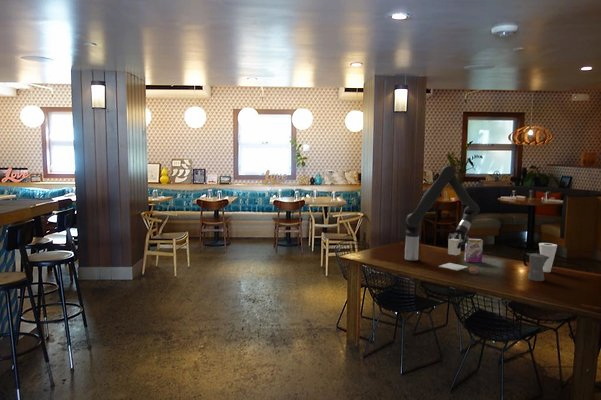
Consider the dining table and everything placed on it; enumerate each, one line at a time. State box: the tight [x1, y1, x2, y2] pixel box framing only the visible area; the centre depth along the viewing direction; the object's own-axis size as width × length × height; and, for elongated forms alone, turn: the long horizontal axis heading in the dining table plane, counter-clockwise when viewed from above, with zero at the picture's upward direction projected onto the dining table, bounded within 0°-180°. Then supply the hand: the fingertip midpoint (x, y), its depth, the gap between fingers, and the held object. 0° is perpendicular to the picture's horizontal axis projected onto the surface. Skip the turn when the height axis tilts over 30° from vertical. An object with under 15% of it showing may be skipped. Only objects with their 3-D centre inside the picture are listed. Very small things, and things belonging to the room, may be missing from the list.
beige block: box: [447, 238, 462, 256], centre depth 304 cm, size 6×6×10 cm
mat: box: [438, 262, 468, 272], centre depth 306 cm, size 14×14×1 cm
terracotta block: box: [468, 265, 479, 275], centre depth 290 cm, size 4×4×4 cm
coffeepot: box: [521, 250, 549, 282], centre depth 277 cm, size 15×9×18 cm, turn 54°
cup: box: [538, 242, 558, 273], centre depth 295 cm, size 11×11×18 cm
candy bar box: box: [464, 238, 484, 263], centre depth 320 cm, size 11×5×16 cm, turn 84°
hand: (453, 247), depth 304 cm, fingers closed on beige block, 5 cm apart
